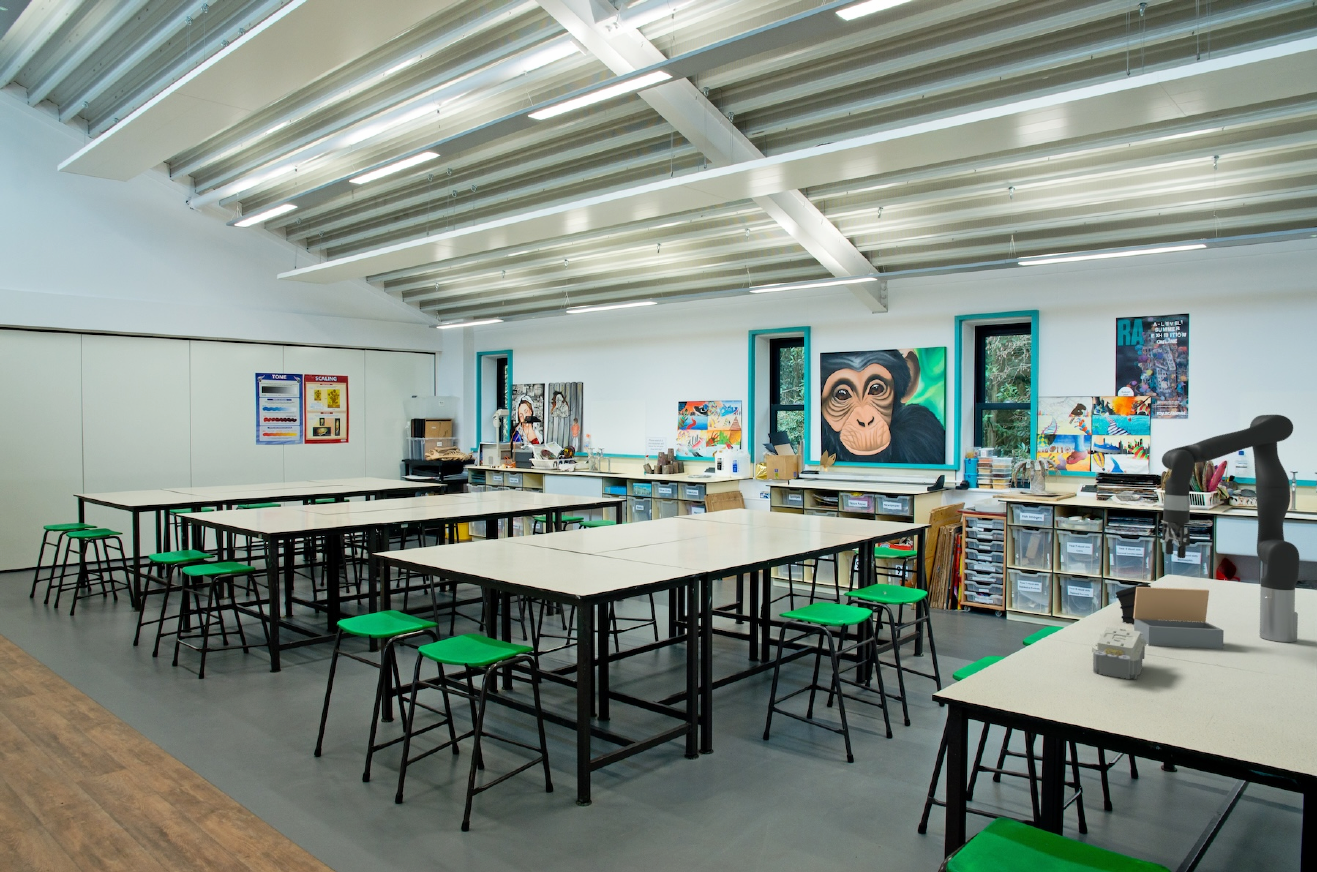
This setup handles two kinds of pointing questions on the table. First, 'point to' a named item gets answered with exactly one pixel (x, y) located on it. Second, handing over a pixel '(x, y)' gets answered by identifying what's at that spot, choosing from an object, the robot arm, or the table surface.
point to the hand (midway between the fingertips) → (1175, 556)
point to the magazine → (1128, 602)
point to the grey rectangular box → (1180, 633)
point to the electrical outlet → (1119, 653)
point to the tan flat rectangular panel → (1171, 604)
